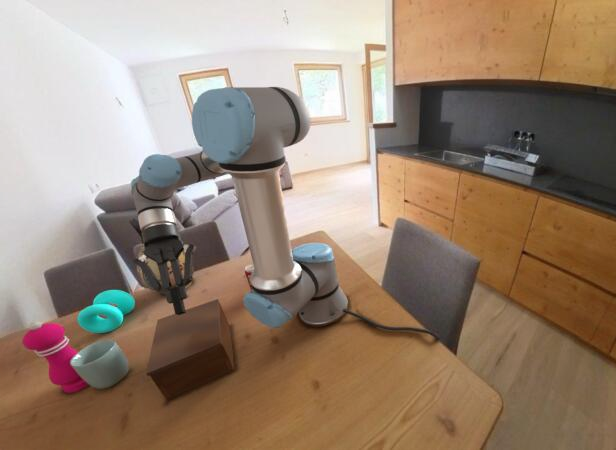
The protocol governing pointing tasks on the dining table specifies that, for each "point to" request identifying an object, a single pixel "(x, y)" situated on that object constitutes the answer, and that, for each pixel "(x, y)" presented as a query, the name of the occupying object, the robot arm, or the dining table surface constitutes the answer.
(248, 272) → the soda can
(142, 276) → the ceramic jug
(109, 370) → the cup
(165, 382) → the chest
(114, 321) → the donuts
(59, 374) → the pepper mill
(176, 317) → the lid
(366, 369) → the dining table surface
